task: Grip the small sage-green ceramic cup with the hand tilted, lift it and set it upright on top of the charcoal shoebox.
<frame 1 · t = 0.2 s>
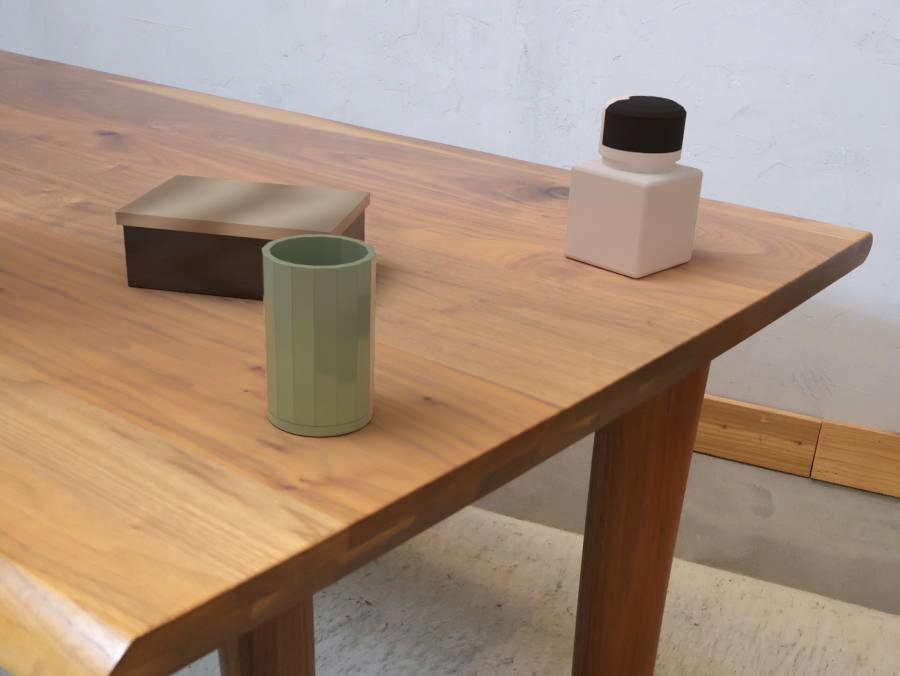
medicine bottle: (626, 261, 88), on the table
shoebox: (251, 273, 81), on the table
cup: (320, 413, 61), on the table
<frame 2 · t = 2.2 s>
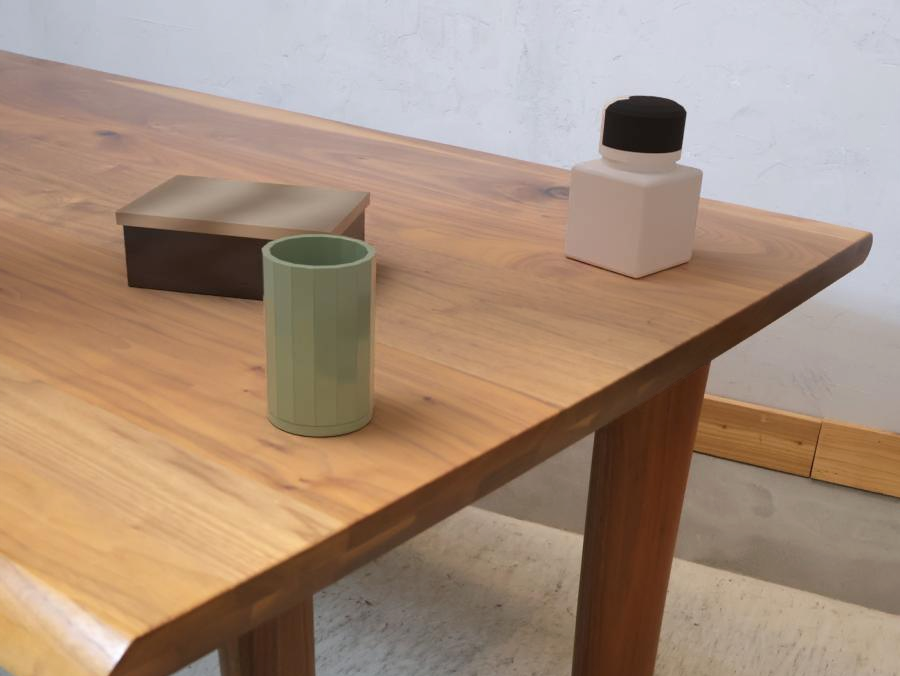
nothing on the table moved.
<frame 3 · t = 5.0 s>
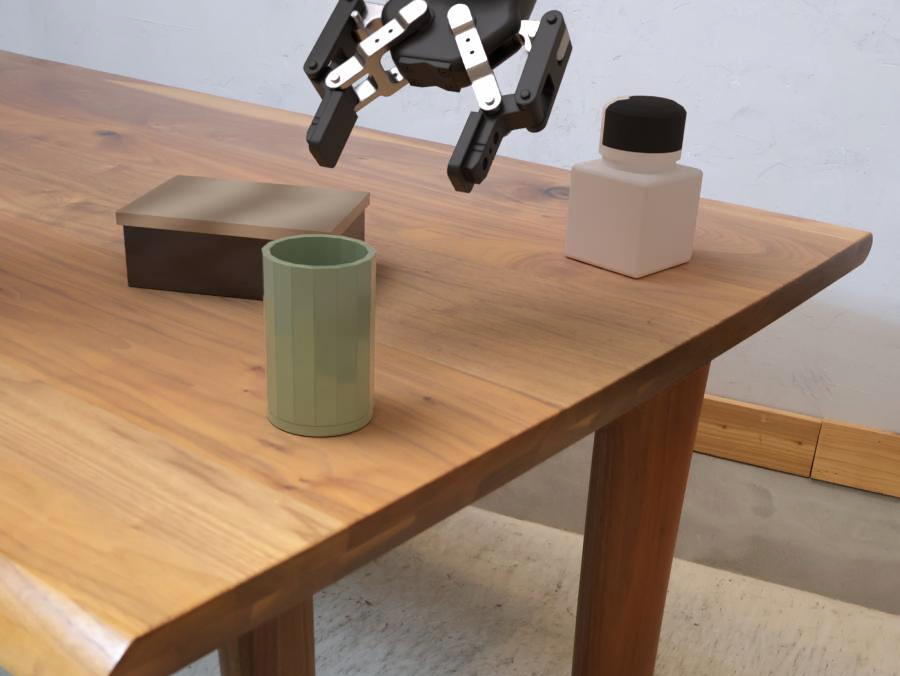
hand: (386, 171, 61), 12 cm above the table, tool tilted 45°, fingers open, 8 cm apart
nothing on the table moved.
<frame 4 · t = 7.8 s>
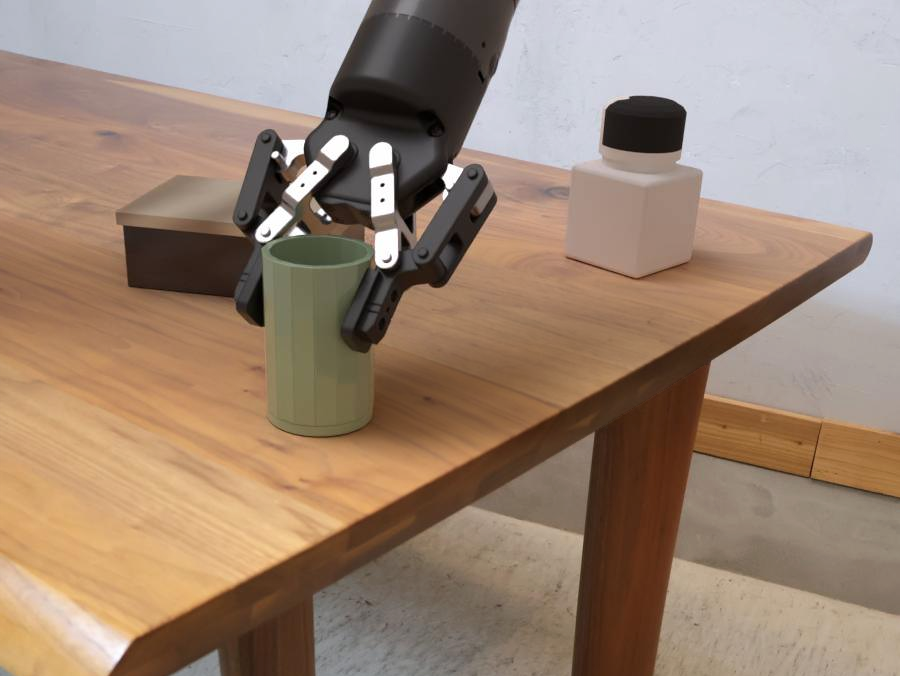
hand: (300, 331, 58), 5 cm above the table, tool tilted 45°, fingers closed on cup, 5 cm apart
cup: (320, 413, 61), on the table, touching gripper
everything else where it was.
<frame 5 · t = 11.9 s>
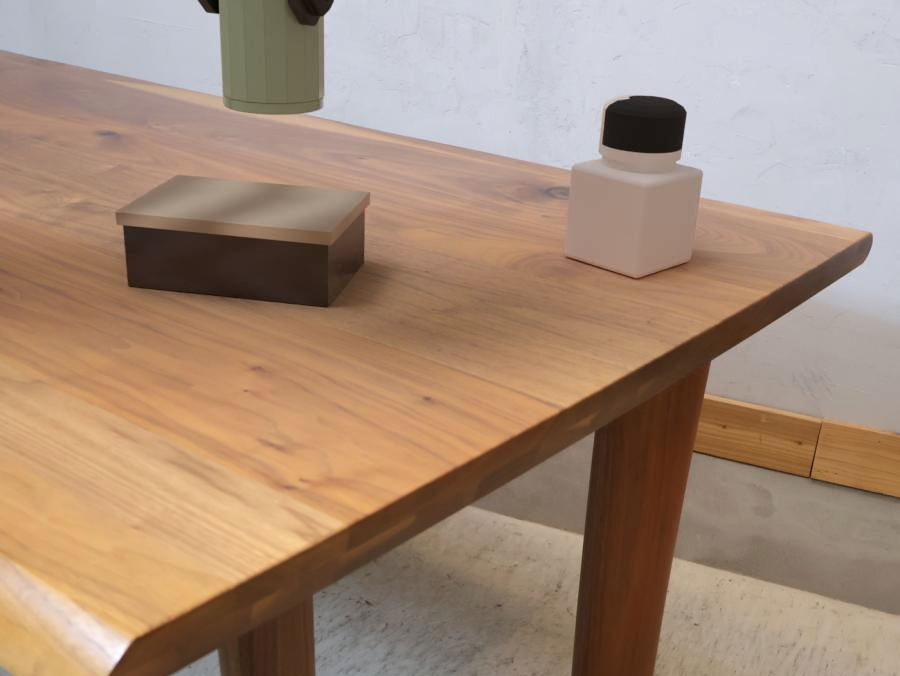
hand: (251, 8, 61), 19 cm above the table, tool tilted 45°, fingers closed on cup, 5 cm apart
cup: (273, 105, 65), point 14 cm above the table, touching gripper
everything else where it was.
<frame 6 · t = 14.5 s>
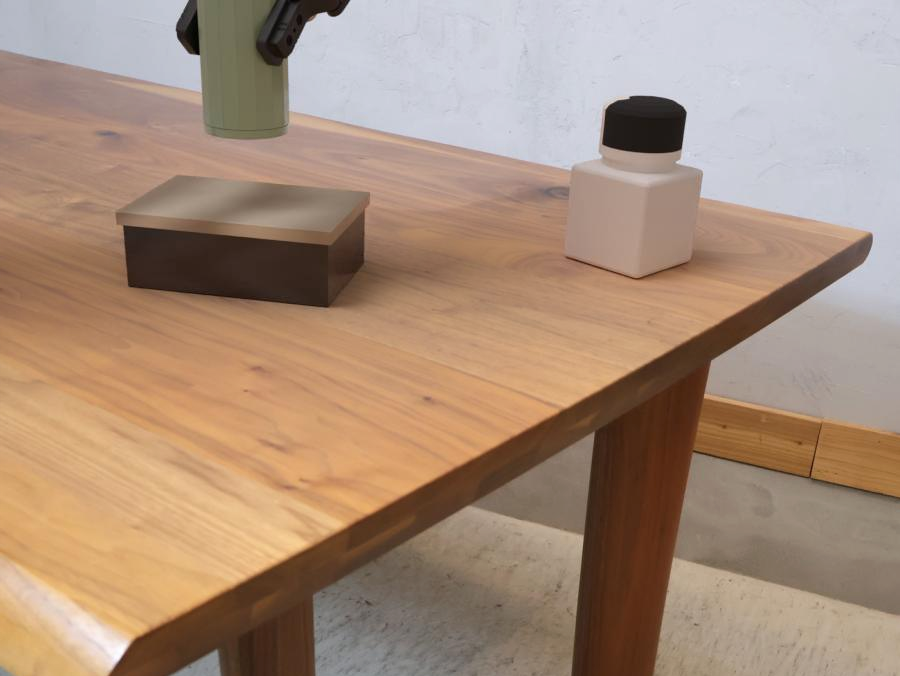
hand: (227, 51, 73), 15 cm above the table, tool tilted 45°, fingers closed on cup, 5 cm apart
cup: (246, 130, 77), point 10 cm above the table, touching gripper
everything else where it was.
when the fingers open (10 cm above the table, at t = 16.4 s): cup stays where it is, resting on shoebox.
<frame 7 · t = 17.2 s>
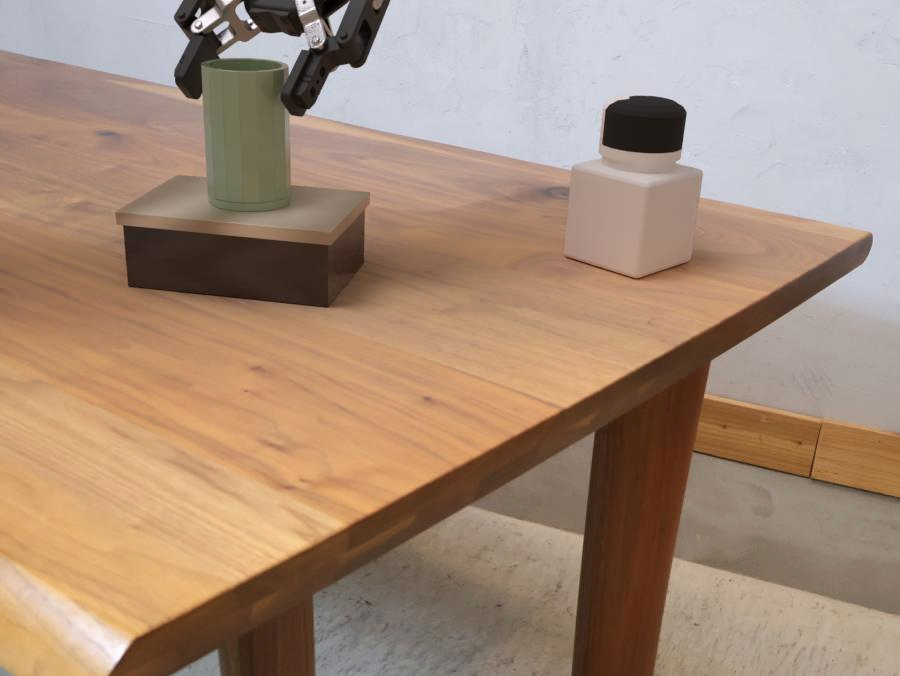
hand: (236, 100, 75), 12 cm above the table, tool tilted 45°, fingers open, 8 cm apart
cup: (249, 200, 79), point 5 cm above the table, touching shoebox
everything else where it was.
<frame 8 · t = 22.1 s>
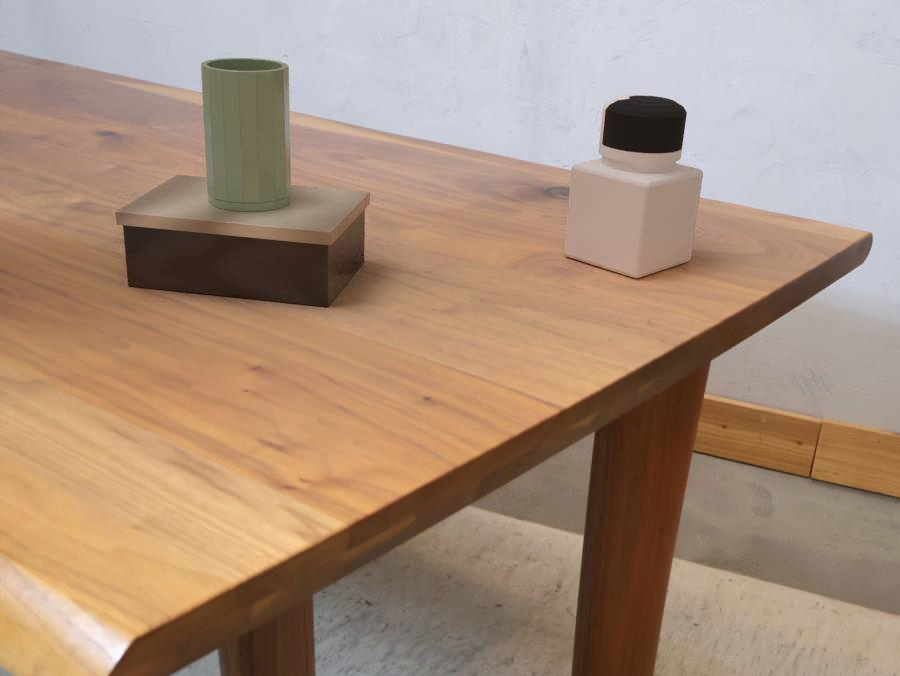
nothing on the table moved.
at the end: cup inside the target area on the shoebox (0.1 cm from its centre), point 5.2 cm above the shoebox's base; cup tilted 0°; the gripper is holding nothing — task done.
